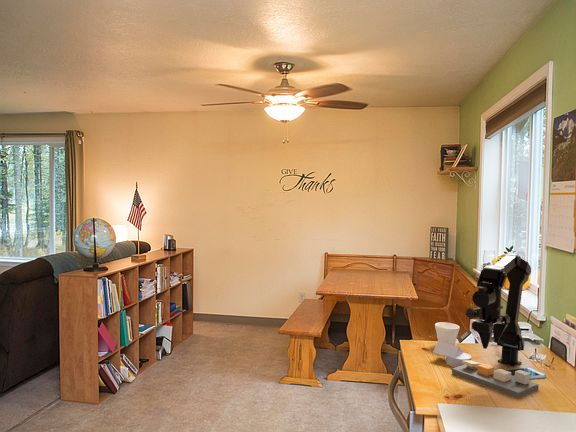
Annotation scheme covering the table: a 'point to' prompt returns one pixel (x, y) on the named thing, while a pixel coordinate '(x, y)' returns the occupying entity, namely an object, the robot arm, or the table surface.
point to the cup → (447, 332)
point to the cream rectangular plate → (470, 363)
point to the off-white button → (502, 375)
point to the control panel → (495, 382)
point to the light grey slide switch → (522, 377)
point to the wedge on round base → (451, 354)
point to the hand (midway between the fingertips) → (490, 345)
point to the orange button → (485, 369)
